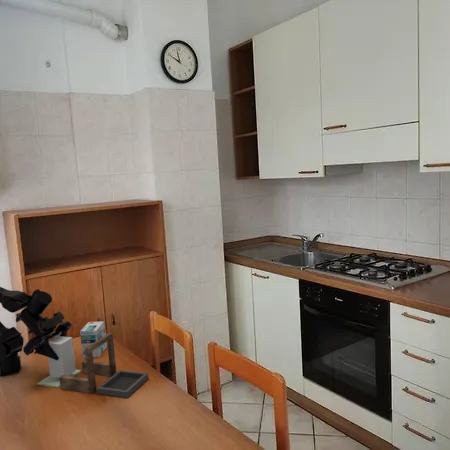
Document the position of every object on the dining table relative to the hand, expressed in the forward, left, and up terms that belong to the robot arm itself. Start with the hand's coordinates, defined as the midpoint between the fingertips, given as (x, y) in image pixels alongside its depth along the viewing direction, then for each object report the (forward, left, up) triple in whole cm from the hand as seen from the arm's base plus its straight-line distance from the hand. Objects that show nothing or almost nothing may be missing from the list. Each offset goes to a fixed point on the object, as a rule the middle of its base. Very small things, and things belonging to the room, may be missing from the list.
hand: (64, 355), depth 154 cm
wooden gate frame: (+7, -6, -8) cm, 12 cm away
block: (-1, +1, -7) cm, 7 cm away
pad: (-2, +2, -8) cm, 9 cm away
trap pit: (+17, -15, -8) cm, 24 cm away
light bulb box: (+11, +19, -9) cm, 24 cm away
